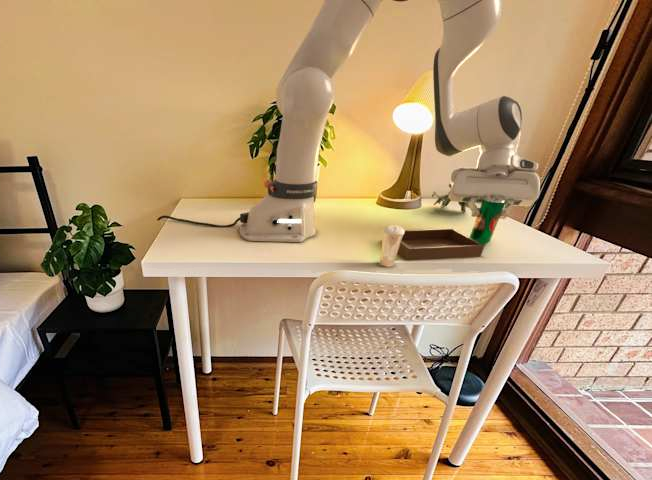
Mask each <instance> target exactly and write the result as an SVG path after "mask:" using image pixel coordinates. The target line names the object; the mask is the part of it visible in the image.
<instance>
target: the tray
mask: <svg viewBox="0 0 652 480" xmlns="http://www.w3.org/2000/svg"><path fill="white" fill-rule="evenodd" d="M404 231H405V233H404V236H403V239H402V241H401V244H400V247H399V249H398V252H397V255H399V256H400V257H402V258H403V259H404V260H405V261H418V260H441V259H461V258H479V257H482V254H483V251H484V249H485V246H486V244H481V243H479V242H477V241H475V240H474V239H472V238H470V236H468V235H466V234H464V233H462V232H461V231H458V230H457V229H455V228H453V227H450V228H431V229H430V228H428V229H404Z"/></svg>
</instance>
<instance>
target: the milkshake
mask: <svg viewBox="0 0 652 480" xmlns="http://www.w3.org/2000/svg"><path fill="white" fill-rule="evenodd" d="M404 230H405V229H404V228H403V227H401V226H400V225H388V226H386V227H385V228H383V232H382V241H381V251H380V256H379V263H378V264H379V265H380V266H381V267H385V268H391V267H393V266H394V264H395V261H396V258H397V255H398V253H397V252H398V249H399V247H400V244H401V241H402V239H403V236H404V233H405V231H404Z"/></svg>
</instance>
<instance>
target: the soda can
mask: <svg viewBox="0 0 652 480" xmlns="http://www.w3.org/2000/svg"><path fill="white" fill-rule="evenodd" d="M505 198H506V197H505V196H502V195H491V194H488V195H486V197H485V198H484V199H483V201H482V203H480V204H481V205H480V207H479V208H480V214H479V216H478V217H475V221H474V223H473V226H472V229H471V231H470V235H469V237H470V238H472V239H474V240H475V241H477V242H479V243H481V244H483V245H487V244H489V243H490V242H491V240H492V238H493V235H494V233H495V230H496V228H497V225H498V223H499V221H500V219H499V218H500V215H501V213H502V210H504V206H505V202H506V201H505Z"/></svg>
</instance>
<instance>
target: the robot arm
mask: <svg viewBox="0 0 652 480" xmlns="http://www.w3.org/2000/svg"><path fill="white" fill-rule="evenodd" d="M383 1H384V0H324V2H323V3H322V5H321V7H320V9H319V11H318V13H317V15H316V17H315V19H314V21H313V23H312V25H311V27H310V29H309V31H308V33H307V34H306V35H305V37H304V39H303V40H302V42H301V44H300V45H299V47H298V49H297V51H296V52H295V54H294V55H293V57H292V59H291V60H290V62H289V64H288V66H287V68H286V69H285V71H284V73H283V75H282V77H281V78H280V80H279V83H278V84H277V86H276V87H277V88H276V90H275V103H276V107H277V109H278V111H279V112H280V114H281V115H282V119H281V125H280V131H279V133H280V134H279V138H278V144H277V147H276V163H275V179H274V180H272V181H271V180H270V179H266V180H265V181H264V184H263V185H264V187H265V188H266V189H267V195H266V196H264V197H263V198H262V199H260V200H259V201H258V202H256V203H255V204H254V205H253V206H251V207H250V209H249V211H248V212H243V213H239V217H237V219H236V220H234V222H233V223H230V224H225V225H224V224H223V225H220V224H213V223H210V222H209V223H208V222H202V221H201V222H200V221H194V220H189V219H183V218H177V217H174V216H170V215H161V216H159V217H158V218H157V219H156V221H160V220H162V219H168V220H169V219H170V220H173V221H175V222H181V223H182V222H183V223H189V224H193V225H198V226H199V225H200V226H206V227H213V228H232V227H234V226H236V225H237V224H238V223H239V222H240V223H242V224H241V225H239V234H240V236H241V237H242V238H243V239H244V240H246V241H248V242H275V243H278V242H279V243H280V242H281V243H303V242H304V241H305V240H306V239H309V238H311V237H313V236H315V235H317V228H316V221H315V202H316V199H317V194H318V180H317V176H318V175H317V174H318V166H319V156H320V150H321V144H322V142H323V141H322V140H323V137H324V132H325V129H326V126H327V125H326V124H327V122H328V117H329V112H330V110H331V108H332V106H333V103H334V98H335V88H334V84H333V82H332V81H333V79H335V77H336V76H337V74H338V73H339V72H340V70H341V69H342V68H343V66H344V65H345V64H346V63H347V61H349V60H350V58H351V57H352V55H353V53H354V52H355V50H356V48H357V46H358V45H359V43H360V41H361V39H362V38H363V36H364V34H365V33H366V30H367V29H368V27H369V25H370V23H371V22H372V20H373V18H374V16H375V14H376V13H377V11H378V9H379V7H380V5H381V3H382V2H383ZM392 1H393V2H400V3H401V2H407V1H408V0H392ZM437 2H438V4H439V7H440V8H439V9H440V14H441V20H442V25H443V31H442V32H443V35H442V41H441V43H440V46H439V48H437V50H436V51H435V54H434V58H433V65H432V68H433V69H432V71H433V72H432V74H433V75H432V76H433V77H432V78H433V79H432V80H433V100H434V101H433V102H434V118H435V119H434V121H435V122H434V143H435V149H436V151H437V152H438V153H440V154H442V155H444V156H445V157H453V156H457V155H459V154H461V153H463V152H465V151H468V150H471V149H475V148H479V153H480V155H479V156H478V159H477V162H476V163H477V164H476V167H458V168H456V169H454V170H453V171H452V172H451V176H450V177H451V178H450V180H451V182H452V183H451V185H452V186H451V188H449V192H450V193H449V192H448V193H449V199H450V200H451V201H450V202H457V203H458V202H469V203H468V206H469V208H468V209H469V210H470V211H471V215H470V217H473V218H477V217H478V216H479V214H480V207H478V206H477V204H482V201H483V199H484V198H485V197H486V195H488V194H491V195H502V196H505V197H506V198H505V201H506V202H505V205H504V207H503V210H502V213H501V215H500V218H499V220H505V219H507V217H508V214H509V211H510V210H511V208H512V207H513V206H515V207H531V206H532V205H533V204H535V202H537V200H538V199H539V197H540V191H541V179H540V176H539V174H538V173H536V172H537V171H538V169H539V163H538V162H536V161H533V160H529V159H527V158H524V157H521V156H519V155H518V150H517V149H518V147H519V145H520V140H521V139H520V138H521V129H522V123H523V122H522V121H523V113H522V109H521V106H520V104H519V102H518V101H516V100H515V99H514V98H512V97H510V96H506V95H502V96H499V97H496V98H494V99H491V100H488V101H486V102H482V103H481V104H479V105H476V106H474V107H471V108H467V109H466V110H463V111H460V112H457V111H456V109H455V76H456V74H457V71H458V70H459V69H460V67H461V66H462V65H463V64H464V63H465V62H466V61H467V60H469V58H470V57H471V56H472V55H474V54H475V53H476V52H477V51H479V49H480V48H481V47H483V46H484V44H486V42H487V41H488V40H489V39H490V37H492V35H493V34H494V32H495V31H496V29H497V27H498V26H499V24H500V21H501V18H502V14H503V0H437Z"/></svg>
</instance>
